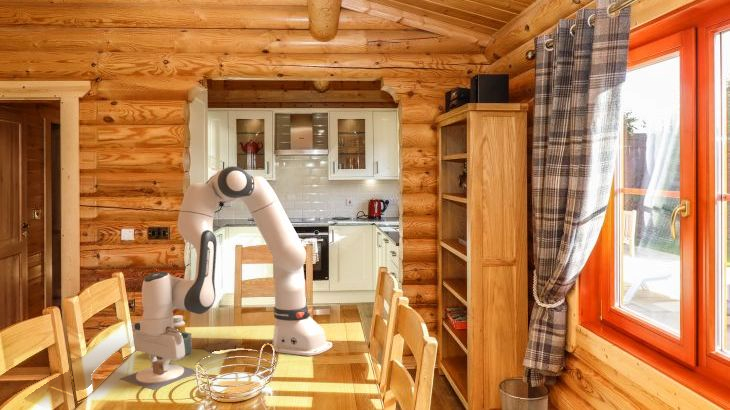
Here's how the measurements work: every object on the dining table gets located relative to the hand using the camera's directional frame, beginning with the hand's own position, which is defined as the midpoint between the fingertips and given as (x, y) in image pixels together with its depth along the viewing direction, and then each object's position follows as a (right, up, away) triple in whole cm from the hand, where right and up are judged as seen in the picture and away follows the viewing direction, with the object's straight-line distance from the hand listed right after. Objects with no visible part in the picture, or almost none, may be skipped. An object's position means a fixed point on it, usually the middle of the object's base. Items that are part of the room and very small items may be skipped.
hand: (160, 368), depth 168 cm
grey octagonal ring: (-3, -1, +21) cm, 21 cm away
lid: (0, -2, 0) cm, 2 cm away
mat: (0, -2, 0) cm, 2 cm away
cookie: (+13, -1, +26) cm, 29 cm away
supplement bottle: (-7, -1, +35) cm, 35 cm away
